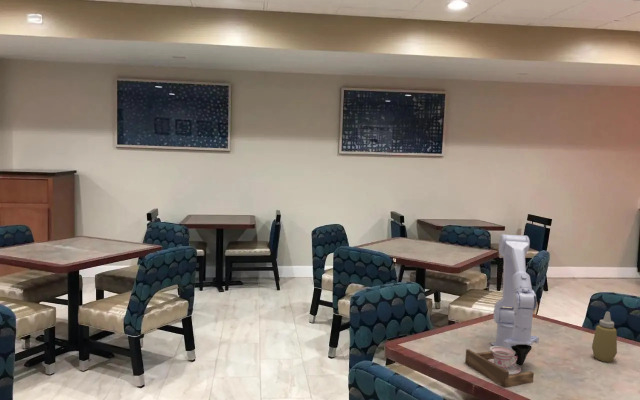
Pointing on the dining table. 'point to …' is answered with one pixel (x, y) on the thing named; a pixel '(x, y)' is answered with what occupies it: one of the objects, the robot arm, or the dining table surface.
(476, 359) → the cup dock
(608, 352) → the squeeze bottle
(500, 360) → the teacup
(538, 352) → the dining table surface
